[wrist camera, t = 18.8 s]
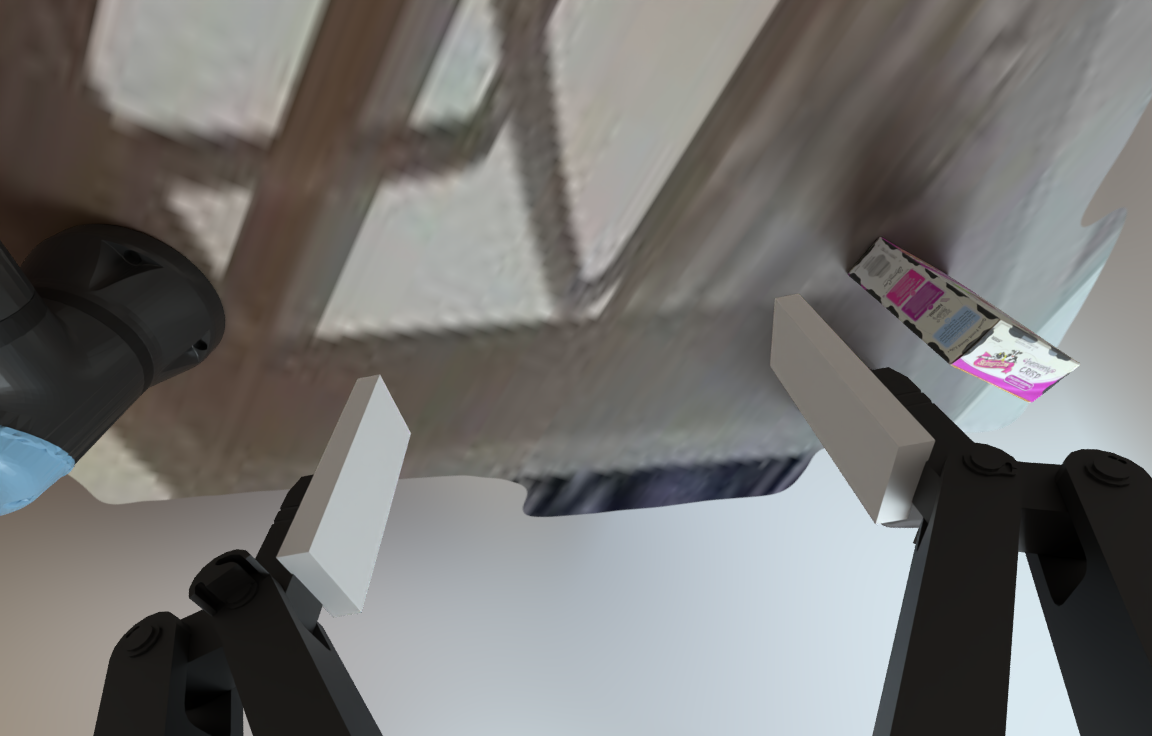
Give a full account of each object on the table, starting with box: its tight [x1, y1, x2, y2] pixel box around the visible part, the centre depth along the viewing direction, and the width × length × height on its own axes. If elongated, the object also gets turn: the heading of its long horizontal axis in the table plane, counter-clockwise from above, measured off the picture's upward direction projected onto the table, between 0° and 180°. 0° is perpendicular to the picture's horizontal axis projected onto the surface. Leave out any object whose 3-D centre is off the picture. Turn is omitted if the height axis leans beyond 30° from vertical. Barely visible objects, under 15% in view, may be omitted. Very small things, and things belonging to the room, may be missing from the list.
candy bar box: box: [848, 237, 1080, 403], centre depth 47 cm, size 11×5×16 cm, turn 64°
